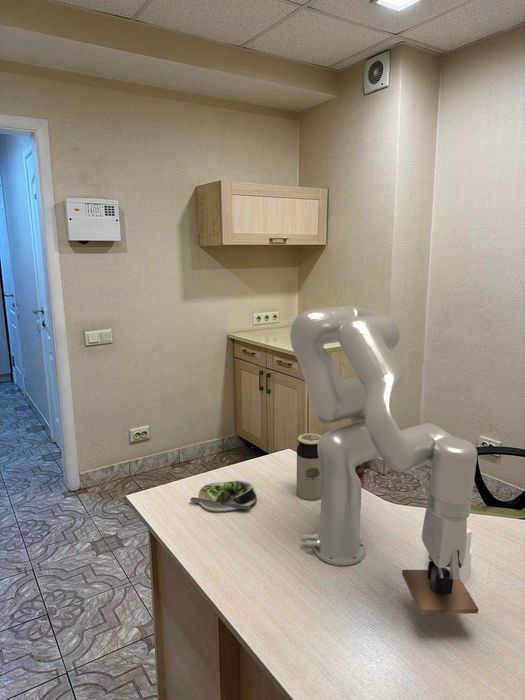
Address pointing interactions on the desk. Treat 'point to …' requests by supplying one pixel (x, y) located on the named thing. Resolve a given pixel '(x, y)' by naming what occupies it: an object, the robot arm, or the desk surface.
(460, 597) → the lid
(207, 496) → the salad plate
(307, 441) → the travel mug
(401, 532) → the desk surface
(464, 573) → the white cylindrical piece
